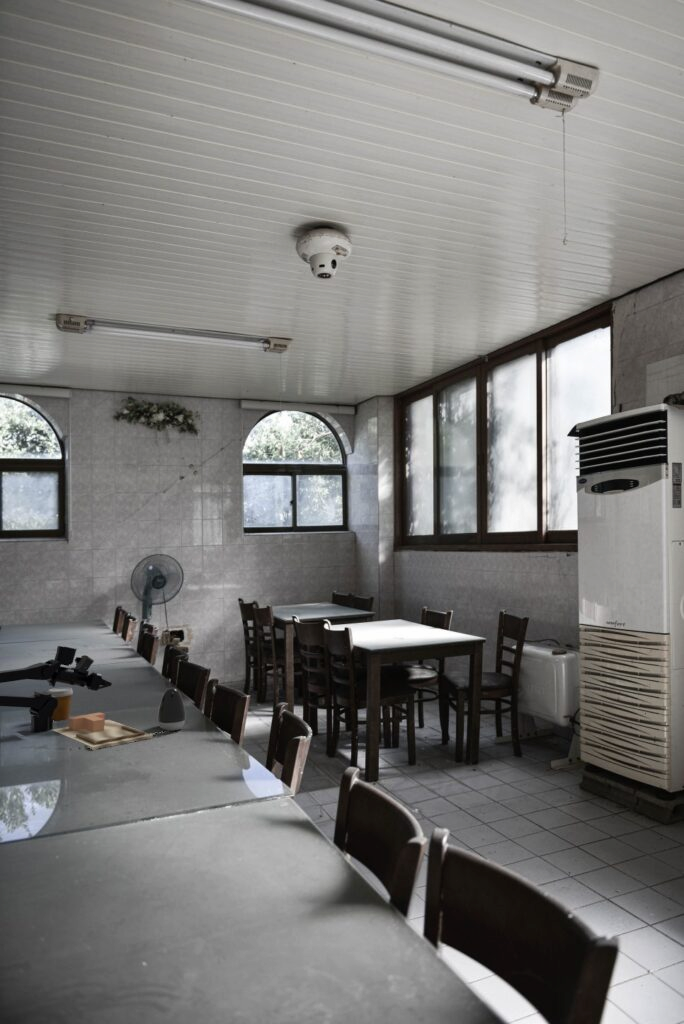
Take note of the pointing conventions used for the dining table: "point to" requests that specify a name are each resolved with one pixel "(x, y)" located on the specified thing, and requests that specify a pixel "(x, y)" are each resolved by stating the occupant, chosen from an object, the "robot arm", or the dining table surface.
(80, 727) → the t block
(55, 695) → the disposable coffee cup
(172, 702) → the grey egg-shaped pod
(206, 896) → the dining table surface
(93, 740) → the board
